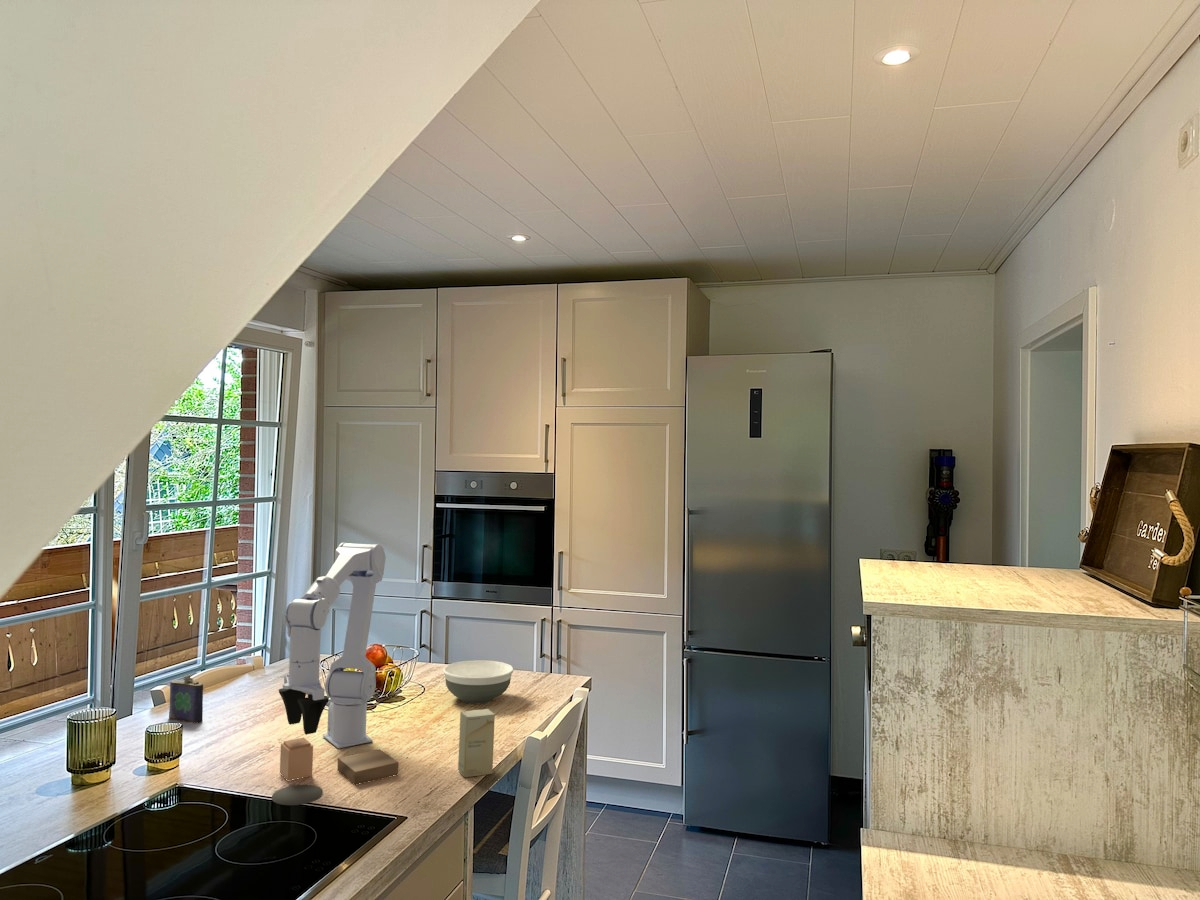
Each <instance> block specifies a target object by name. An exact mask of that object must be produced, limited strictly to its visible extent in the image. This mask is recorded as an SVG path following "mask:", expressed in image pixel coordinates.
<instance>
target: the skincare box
mask: <svg viewBox="0 0 1200 900" xmlns="http://www.w3.org/2000/svg"><path fill="white" fill-rule="evenodd" d="M495 717H496V714H495V713H494V712H493V711H492V710H490V709H489V708H482V709H473V710H465V711H464V710H463V711H460V715H459V718H460V719H459V741H458V761H457V762H458V763H457V764H458V765H457V766H458V767H457V771H458V770H459V771H458V772H459V773H460V774H461V776H463V778H471V777H478V776H486V775H492V774H493V772H494V771H493V769H494V768H493V767H494V764H493V763H494V743H495V741H494V740H495Z"/></svg>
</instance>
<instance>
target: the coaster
mask: <svg viewBox="0 0 1200 900" xmlns="http://www.w3.org/2000/svg"><path fill="white" fill-rule="evenodd" d="M323 793H324V790H323V788H321V787H320V786H318V785H315V784H307V783H306V784H293V785H289V786H285V787H282V788H280V789H278V790H276V791H274V793H273V794H271V795H272V796H271V800H272V802H273V803H275V804H277V805H282V806H300V805H304V804H309V803H311V802H312V803H313V802H314V801H316V800H318V799H320V798H321V797H322V796H323ZM321 795H322V796H321ZM319 797H320V798H319ZM308 802H309V803H308Z"/></svg>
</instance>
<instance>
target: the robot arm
mask: <svg viewBox="0 0 1200 900" xmlns="http://www.w3.org/2000/svg"><path fill="white" fill-rule="evenodd" d="M386 557H387V556H386V552H385V550H384V548H383V546H382V544H380V543H376V544H373V543H369V544H368V543H349V542H341V543H340V544H339V545H338V546H337V548H336V549H335V553H334V561H333V564H332V565H331V568H329V570H328V572H327V573H326V575H325V576H323V575H322V576H318V577H317V578H316V579H315V581H313V583H312V584H311V585H310V586H309V587H308V589H306V591H305V592H304V593H303V595H302V596H301V597H300V598H295V599H294V600H293V601H290V602H289V603H288V605H287V607H286V611H285V614H284V623H285V626H286V628H287V629H286V630H287V637H289V661H288V662H289V663H288V674H284V675H283V676H284V677H283V684H282V688H279V689H278V693H279V695H280V696H281V699H282V701H283V705H284V709H285V714H286V719H287V722H288V725H291V726H292V725H296V724H300V723H301V720H302V726H303V732H304V735H306V736H307V735H311V734H315V733H317V731H318V726H319V724H320V721H321V717H322V714H323V711H324V710H325V707H326V706H327V704H328V703H329V706H328V708H327V731H326V733H324V734H323V735H322V737H323V738H324V739H325V740H327V741H328V742H330V743H331V744H332V745H334V747H336V748H337V749H341V748H342V749H343V748H347V747H353V746H358V745H363V744H366V743H367V744H368V743H370V742H373V740H374V739H372V738H371V737H370V736H368V735H367V713H368V712H367V711H368V710H367V709H368V707H367V706H368V705H367V704H368V701H370V700H371V698H372V697H373V696H374V694H375V690H376V687H377V680H376V666H375V665H374V663H372V662H371V660H369V658H368V657H367V656H366V654H367V647H368V639H369V634H370V633H369V632H370V627H371V622H372V621H371V620H372V613H373V607H374V600H375V594H376V586H377V584H378V583H379V582H382V581H383V575H384V571H385V564H386ZM346 580H348V581H350V582H351V584H352V586H353V587H352V593H351V601H350V606H349V612H348V613H349V614H348V619H347V626H346V633H345V639H344V645H343V652H342V655H341V656H340V657H338V658H337V659H336V660H334V661H333V662H331V663H330V667H329V672H328V673H327V677H326V679H325V683H324V687H322V683H321V680H320V664H321V663H320V662H321V661H320V660H321V638H322V637H321V636H322V635H321V634H322V632H321V631H322V628H323V627H324V626H325V625H326V622H327V618H328V615H329V613H330V607H331V606H332V605H333V603H334V602H335V601H336V600H337V598H338V597H339V595H340V592H341V588H340V586H341V585H342V584H343V583H344V582H345V581H346ZM346 669H351V670H346ZM352 669H353V670H352ZM356 669H357V670H360V671H357V670H356ZM355 670H356V671H355ZM325 694H326V695H325ZM306 696H307V697H306ZM329 701H330V702H329Z"/></svg>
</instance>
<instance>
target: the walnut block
mask: <svg viewBox="0 0 1200 900" xmlns="http://www.w3.org/2000/svg"><path fill="white" fill-rule="evenodd" d="M338 771H339V772H338ZM337 772H338V773H339V774H341V775H342V776H343V775H344V776H345V779H347V780H348V779H349V780H350V781H351V782H350V781H349V780H348V781H349V782H350V783H352V784H353V783H354V784H355V785H354V784H353V785H354V786H357V785H356V784H358V785H360V784H359V783H362V784H365V783H364V782H366V783H369V782H368V781H371V782H373V780H375V781H379V780H383V779H386V778H387V777H388V778H390V777H389V776H392V777H394V776H393V775H396V776H398V775H399V761H398V760H396V759H395V758H393V757H392V756H390V755H389V754H388V753H386V752H385V751H384V750H382V749H380V748H379V749H374V750H369V751H363V752H359V753H355V754H350V755H345V756H341V757H337ZM397 774H398V775H397ZM344 776H343V777H344ZM382 778H383V779H382ZM378 779H379V780H378Z"/></svg>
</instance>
